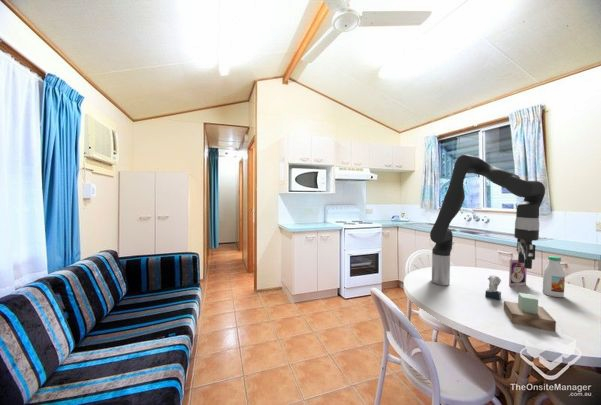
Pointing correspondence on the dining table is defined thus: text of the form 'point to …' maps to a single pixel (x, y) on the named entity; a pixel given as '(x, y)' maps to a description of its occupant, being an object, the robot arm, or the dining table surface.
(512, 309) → the plinth
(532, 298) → the block
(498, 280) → the watch
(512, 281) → the greeting card
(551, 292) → the milk bottle
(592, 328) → the dining table surface
